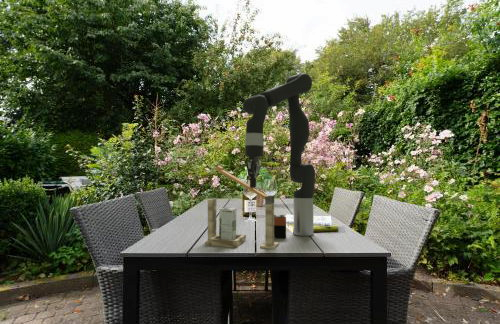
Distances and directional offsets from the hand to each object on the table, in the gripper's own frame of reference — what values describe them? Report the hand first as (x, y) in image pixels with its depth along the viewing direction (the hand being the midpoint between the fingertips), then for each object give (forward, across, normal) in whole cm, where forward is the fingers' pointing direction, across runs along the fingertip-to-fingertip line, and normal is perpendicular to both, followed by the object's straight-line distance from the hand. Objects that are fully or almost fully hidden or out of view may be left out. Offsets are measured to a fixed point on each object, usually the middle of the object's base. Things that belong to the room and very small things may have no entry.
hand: (253, 187), depth 128 cm
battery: (+23, +18, -8) cm, 30 cm away
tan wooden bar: (-1, 0, +4) cm, 5 cm away
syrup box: (+24, +1, +10) cm, 26 cm away
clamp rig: (+23, +1, +4) cm, 24 cm away
